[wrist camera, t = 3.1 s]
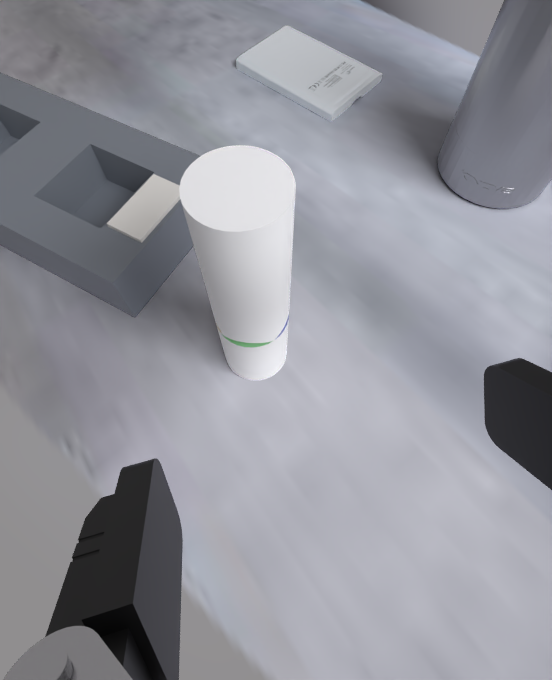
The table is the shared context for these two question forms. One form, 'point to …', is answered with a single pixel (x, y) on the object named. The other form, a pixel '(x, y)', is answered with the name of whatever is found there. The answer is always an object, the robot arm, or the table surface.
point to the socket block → (89, 196)
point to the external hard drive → (308, 72)
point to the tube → (244, 251)
